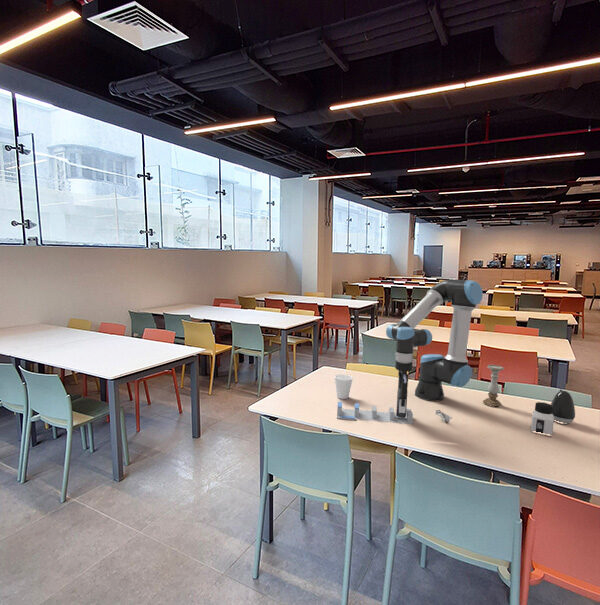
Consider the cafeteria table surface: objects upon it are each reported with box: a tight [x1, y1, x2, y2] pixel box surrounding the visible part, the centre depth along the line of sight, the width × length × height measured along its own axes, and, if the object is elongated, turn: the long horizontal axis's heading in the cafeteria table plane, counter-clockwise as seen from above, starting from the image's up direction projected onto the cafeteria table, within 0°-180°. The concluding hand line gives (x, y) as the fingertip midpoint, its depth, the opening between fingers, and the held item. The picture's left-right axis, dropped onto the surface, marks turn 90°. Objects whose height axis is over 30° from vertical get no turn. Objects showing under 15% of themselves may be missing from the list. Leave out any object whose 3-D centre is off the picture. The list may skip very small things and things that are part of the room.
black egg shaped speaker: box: [550, 389, 576, 424], centre depth 179 cm, size 10×10×15 cm
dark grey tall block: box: [395, 388, 408, 418], centre depth 176 cm, size 4×4×12 cm
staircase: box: [435, 409, 453, 424], centre depth 174 cm, size 6×4×6 cm, turn 24°
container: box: [530, 401, 555, 436], centre depth 168 cm, size 8×8×13 cm
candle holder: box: [482, 364, 505, 407], centre depth 199 cm, size 9×9×20 cm
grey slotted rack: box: [336, 401, 414, 425], centre depth 178 cm, size 34×11×5 cm, turn 82°
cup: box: [334, 374, 354, 400], centre depth 202 cm, size 10×10×11 cm
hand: (401, 410), depth 176 cm, fingers closed on dark grey tall block, 4 cm apart
